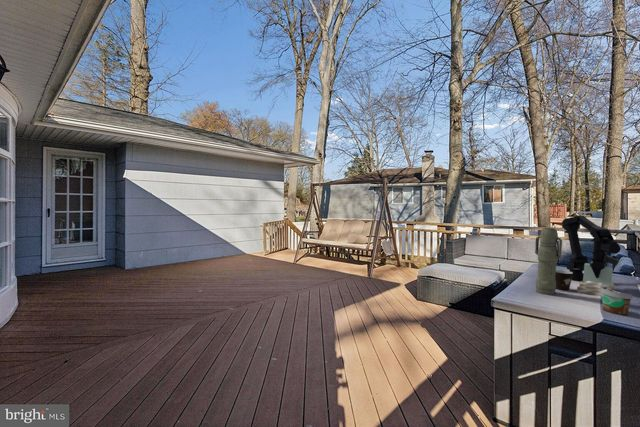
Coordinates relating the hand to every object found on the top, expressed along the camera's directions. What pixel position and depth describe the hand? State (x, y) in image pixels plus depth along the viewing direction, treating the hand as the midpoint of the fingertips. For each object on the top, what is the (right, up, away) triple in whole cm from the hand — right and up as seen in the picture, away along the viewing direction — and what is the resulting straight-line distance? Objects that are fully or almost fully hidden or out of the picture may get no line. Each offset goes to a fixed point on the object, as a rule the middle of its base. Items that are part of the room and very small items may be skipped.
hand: (597, 277), depth 184 cm
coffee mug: (-24, -6, -2) cm, 25 cm away
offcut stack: (-9, -7, -8) cm, 14 cm away
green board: (0, -3, 0) cm, 3 cm away
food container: (-26, -9, -37) cm, 46 cm away
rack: (-3, -6, -3) cm, 8 cm away
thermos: (-37, -6, -10) cm, 39 cm away
